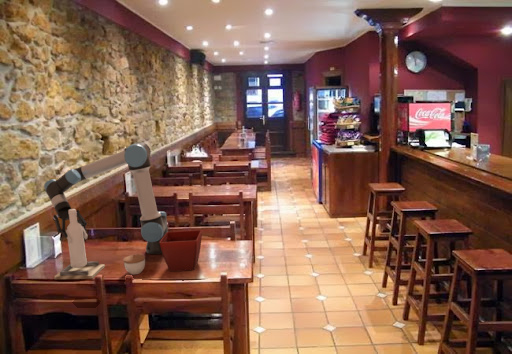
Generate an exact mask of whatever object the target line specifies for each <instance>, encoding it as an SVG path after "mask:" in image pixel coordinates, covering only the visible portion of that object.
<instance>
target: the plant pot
mask: <svg viewBox="0 0 512 354" xmlns="http://www.w3.org/2000/svg"><path fill="white" fill-rule="evenodd" d="M202 235H203V230H201V229H200V230H199V229H197V230H194V229H193V230H177V231H168V232H167V233H166V234H165V235H164V237H163V238H162V239H161V241H160V242H159V243H160V247H161V251H162V254H161V255H162V256H163V259H164V261H165V264H166V266H167V268H168V271H169V272H181V271H182V272H183V271H185V272H186V271H194V270H195V269H196V267H197V265H198V262H199V259H200V258H199V257H200V255H201V254H200V253H201V245H202V237H203V236H202Z"/></svg>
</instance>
